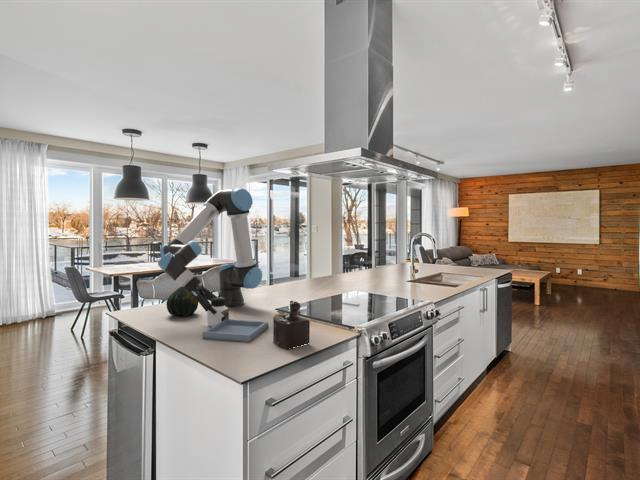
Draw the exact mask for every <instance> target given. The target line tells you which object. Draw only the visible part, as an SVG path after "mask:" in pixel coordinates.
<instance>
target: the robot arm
mask: <svg viewBox="0 0 640 480" xmlns="http://www.w3.org/2000/svg"><path fill="white" fill-rule="evenodd" d="M253 203H254V202H253V196H252V195H251V193H250V192H249V191H248V190H247V189H246V188H240V187H235V188H227V189H223V188H222V189H221V190H218V191H217V192H215V193H214V194H212V195H211V196H210V197H209V198H208V199H207V200H206V202H204V204H203V205H202V206H203V207H202V208H201V209H200V211H198V213H196V215H194V216H193V218H192V219H191V220H190V221H189V222H188V223H187V224H186V225H185V226H184V227H183V228H182V230H181V231H179V233H178V234H177V235H176V236H175V237H174V238H173V239H172V240H171V241H170V242H169V243H165V244H163V245H162V246H161V247H160V250H159V253H160V257H161V258H160V259H159V260H158V261H157V265H158V267H159V268H160V269H161V270H162V271H163V272H164V273H165V274H167V275H168V276H169V277H170V278H171V279H172V280H173V281H174V282H175V283H176V285H179V287H183V289H184V290H185V291H186V292H187V293H190V292H191V291H192V292H193V293H192V295H193V296H194V297H195V298H196V300H197V301H198V304H199V305H200V307H202V308H203V309H204V311H205V312H206V313H207V311H209V312H210V313H212V314H213V315H214V316H215V317H216V318H217V319H218V320H220V319H221V318H222V317H223V316H224V315H223V314H222V313H220V312H219V311H218V310H217V309H216V308H215V307H214V306H212V305H211V300H212V299H213V298H224V299H225V307H226V308H230V307H238V306H242V305H244V304H245V298H244V295H243V293H242V289H252V290H253V289H256V288H257V287H259V285H260V283H261V282H262V280H263V272H262V269H260V267H257V262H256V261H255V259H254V256H253V251H252V245H251V244H252V243H251V235H250V229H249V221H248V216H249V214H250V209H251V208H252V206H253ZM224 212H226V216H227V217H228V218H230V224H231V230H232V237H233V243H234V251H235V257H236V262H235V263H226V264H221V265H220V266H219V271H218V273H219V277H218V278H219V292H218V295H216V294H214V293H213V292H212V291H210V290H209V289H208V288H206V287H205V286H204V285H202V284H201V280H200V279H199V278H198V277H197V276H195V274H194V273H193V272H192V271H191V270H190V269H188V267H187V266H189V264H190V263H191V262H193V261H194V260H195V259H196V258H198V256H199V255H200V254H201V253H202V251H203V249H202V247H201V246H200V244H199V243H198V242H197V241H195V239H196V238H197V237H198V236H199V235H200V234H201V233H202V231H203V230H204V229H205V228H207V226H208V225H209V224H210V223H211V221H213V219H214V218H217V217H219V216H220V215H221V214H222V213H224ZM200 284H201V285H200Z"/></svg>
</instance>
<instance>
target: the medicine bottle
mask: <svg viewBox="0 0 640 480" xmlns="http://www.w3.org/2000/svg"><path fill="white" fill-rule="evenodd" d="M210 304H211V305H212V306H214V307H215V308H216V309H217V310H218V311H219V312H220V313H222V314H223V315H224V316H223V317H222V318H221V319H220V320H218V319H217V318H216V317H215V316H214V315H213V314H212V313H210V312H209V311H207V312H206V315H207V316H206V318H207V319H206V320H207V326H208V327H213V326H215V325H217V324H218V323H220V322H222V321H224V320H226V319H230V318H229V317H230V310H229V308H230V307H225V299H224V298H213V299H212V300H211V301H210Z"/></svg>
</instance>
